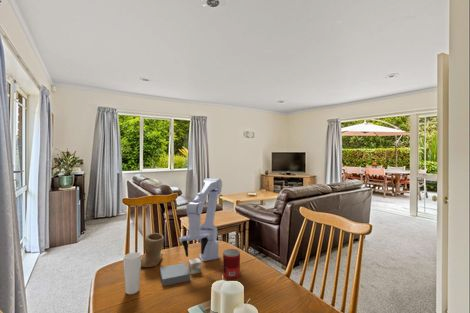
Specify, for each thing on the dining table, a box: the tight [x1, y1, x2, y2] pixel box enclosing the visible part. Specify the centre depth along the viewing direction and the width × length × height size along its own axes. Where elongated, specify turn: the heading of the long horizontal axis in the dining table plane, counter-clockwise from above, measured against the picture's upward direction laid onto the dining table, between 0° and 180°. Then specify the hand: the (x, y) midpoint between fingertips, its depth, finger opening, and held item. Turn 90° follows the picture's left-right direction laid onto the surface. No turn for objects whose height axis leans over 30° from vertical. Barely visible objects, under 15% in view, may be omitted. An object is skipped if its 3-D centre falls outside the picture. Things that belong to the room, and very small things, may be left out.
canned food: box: [222, 248, 241, 280], centre depth 112 cm, size 8×8×11 cm
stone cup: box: [141, 232, 165, 268], centre depth 126 cm, size 15×12×15 cm
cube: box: [188, 257, 202, 275], centre depth 117 cm, size 5×5×5 cm
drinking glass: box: [123, 251, 142, 295], centre depth 99 cm, size 7×7×15 cm
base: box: [159, 262, 191, 287], centre depth 111 cm, size 12×12×3 cm
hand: (194, 254), depth 117 cm, fingers open, 7 cm apart
